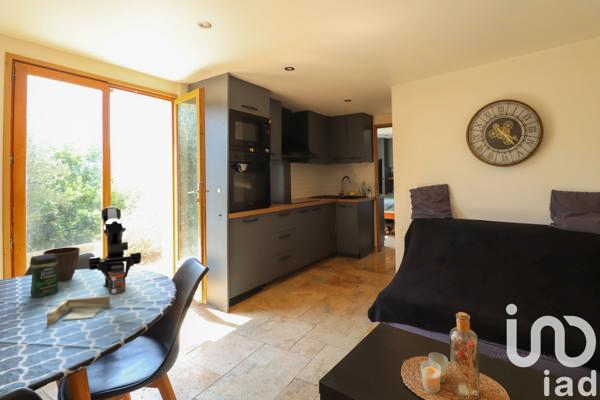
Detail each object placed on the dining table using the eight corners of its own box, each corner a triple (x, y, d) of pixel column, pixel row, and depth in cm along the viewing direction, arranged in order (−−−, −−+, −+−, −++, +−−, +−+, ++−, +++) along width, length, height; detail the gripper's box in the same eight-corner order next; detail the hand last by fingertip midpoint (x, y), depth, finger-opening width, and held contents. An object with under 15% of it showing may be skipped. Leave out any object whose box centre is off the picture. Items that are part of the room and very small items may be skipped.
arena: (66, 308, 120) (66, 299, 120) (110, 304, 125) (109, 295, 124) (47, 324, 107) (46, 313, 107) (96, 319, 111) (96, 309, 111)
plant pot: (85, 278, 156) (84, 249, 155) (50, 287, 143) (49, 255, 142) (73, 273, 164) (73, 246, 163) (39, 281, 151) (38, 251, 150)
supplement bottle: (116, 296, 117) (115, 269, 116) (105, 294, 119) (104, 267, 118) (129, 291, 123) (128, 265, 122) (118, 289, 125) (117, 263, 124)
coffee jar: (34, 299, 129) (32, 258, 127) (28, 295, 133) (26, 255, 132) (61, 292, 137) (59, 254, 135) (55, 289, 141) (53, 251, 140)
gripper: (88, 238, 117) (88, 272, 109) (140, 234, 128) (144, 264, 120) (89, 253, 124) (89, 286, 116) (138, 247, 135) (142, 277, 127)
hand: (117, 278), depth 119 cm, fingers closed on supplement bottle, 6 cm apart
